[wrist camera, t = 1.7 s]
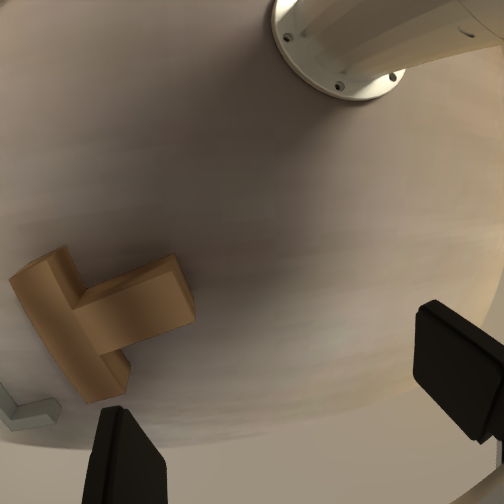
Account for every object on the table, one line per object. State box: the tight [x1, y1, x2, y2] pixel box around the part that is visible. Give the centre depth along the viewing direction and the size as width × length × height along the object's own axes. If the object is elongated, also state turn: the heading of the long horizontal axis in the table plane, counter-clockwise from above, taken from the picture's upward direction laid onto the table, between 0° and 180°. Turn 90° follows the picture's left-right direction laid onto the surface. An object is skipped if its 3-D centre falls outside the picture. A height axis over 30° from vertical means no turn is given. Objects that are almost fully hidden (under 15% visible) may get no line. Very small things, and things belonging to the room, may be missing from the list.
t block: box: [9, 245, 196, 404], centre depth 22 cm, size 12×12×4 cm
